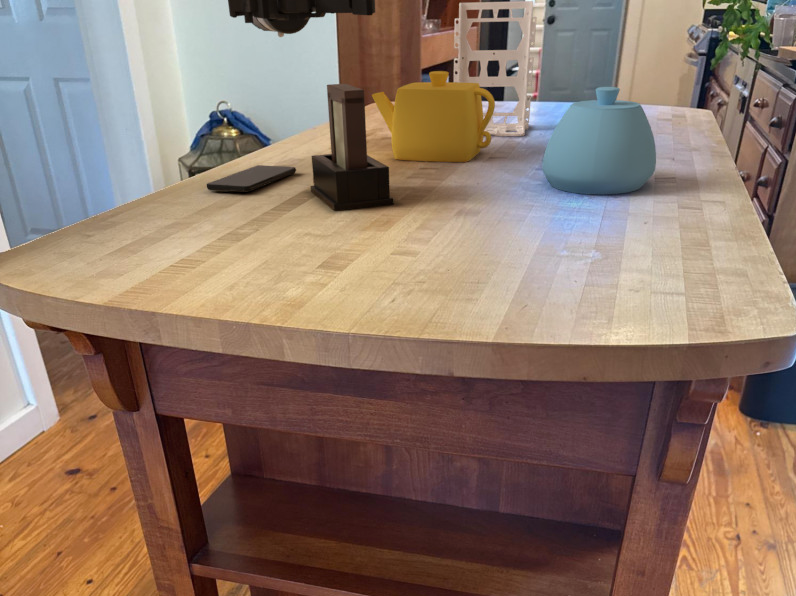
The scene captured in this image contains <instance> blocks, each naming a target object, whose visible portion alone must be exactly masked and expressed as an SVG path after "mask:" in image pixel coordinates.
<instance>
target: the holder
mask: <svg viewBox="0 0 796 596" xmlns="http://www.w3.org/2000/svg"><path fill="white" fill-rule="evenodd" d="M311 167H312V180H313V184H312V185H310V193H312V194H313V195H314V196H315V197H317V198H318V199H319V200H320V201H322V202H323V203H324V204H325V205H327V206H328V207H329V208H330V209H331V210H332V211H334V212H337V211H347V210H355V209H356V210H357V209H365V208H374V207H375V208H376V207H382V206H383V207H384V206H392V205H394V204H395V198H394V197H393V196H391V192H390V191H391V188H390V186H391V185H390V167H389V166H388V165H386V164H384V163H382V162H381V161H379V160H377V159H375V158H373V157H372V156H370V155H368V154H367V167H366V168H355V169H346V170H345V169H343V168H342V167H340V166H339V165H337V164H335V163H334V162H332V154H331V153H328V154H327V153H325V154H314V155H311Z"/></svg>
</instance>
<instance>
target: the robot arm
mask: <svg viewBox="0 0 796 596" xmlns="http://www.w3.org/2000/svg"><path fill="white" fill-rule="evenodd" d="M227 3H228V12H229V17H231V18H235V19H236V18H237V17H243V18H244V23H245V24H251V25H252V26H254V27H256V28H257V29H258V30H262V31H263V32H274V33H275V32H276V33H277V36H278V37H279V38H282V37H284V36H285V35H293V34H296V33H298V32H300V31H302V30H303V29H305V27H306V26H307V25H308V23H309V21H310V19H311V18H315V19H317V18H324V17H326V15H327V14H352V15H354V16H373V14H375V13H376V0H227Z"/></svg>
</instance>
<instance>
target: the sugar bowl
mask: <svg viewBox="0 0 796 596" xmlns="http://www.w3.org/2000/svg"><path fill="white" fill-rule="evenodd" d="M620 90H621V89H620V88H619V87H617V86H599V87H597V88H595V95H596V99H591V100H580V101H576V102H572V104H570V106H569V107H568V108H567V110H566V111H565V112H564V114H563V115H562V116H561V118H560V120H559V122H558V123H557V125H556V126H555V128H554V130H553V131H552V133H551V136H550V138H549V140H548V142H547V145H546V148H545V151H544V155H543V159H542V165H541V170H542V173H543V174H544V176H545V178H546V180H547V181H548V182H549V184H550V185H551V187H552V188H554V189H556V190H560V191H563V192H567V193H573V194H580V195H581V194H582V195H583V194H584V195H598V196H599V195H600V196H601V195H620V194H626V193H632V192H635V191H639V189H641V188H642V187H643V186H645V184H646V183H647V182H648V181H649V180H650V179H651V178H652V176H653V175H654V173H655V171H656V165H657V149H656V142H655V137H654V133H653V129H652V127H651V124H650V122H649V119H648V117H647V113H646V112H645V111H644V108H643V106H642V105H641V104H640V103H639V102H636V101H630V100H620V99H617V97H618V96H619V93H620Z"/></svg>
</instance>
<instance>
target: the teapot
mask: <svg viewBox="0 0 796 596" xmlns="http://www.w3.org/2000/svg"><path fill="white" fill-rule="evenodd" d="M449 74H450V72H448V71H445V70H434V71H430V72H429V73H428V76H429V79H430V81H427V82H424V81H423V82H422V81H421V82H418V81H417V82H416V81H415V82H411V83H408V84H404V85H402V86H399V87H398V88H397V90H396V93H395V98H394V103H392V101H391V100H390V99H389V97H388V96H387V95H386V94H385V91H380V92H376V93H372V94H371V97H372V99H373V102H374V103H375V105H376V107H377V109H378V111H379V113H380V115H381V116H382V119H383V121H384V122H385V124H386V126H387V128H388V130H389V131H390V134H391V149H392V150H391V151H392V154H393V158H394V160H400V161H411V162H412V161H413V162H429V163H430V162H431V163H432V162H433V163H436V162H437V163H466V162H470V161H471V160H473V159H474V158H475V157H476V156H477V155H479V153H480V152H481V150H482V149H486V148H488V147H489V146H490V144H491V142H492V135H490V133H489V132H487V131H484V130H485V128H486V127H487V125H488V123H489V121H490V119H491V117H493V116H492V115H493V113H495V107H496V102H495V98H494V96H493V94H492V93H491V92H490V91H489V90H487V89H485V88H484V87H480V85H479V83H457V82H454V81H453V82H450V81H449V82H448V78H449ZM482 97H483V98H485V99H486V100H487V105H488V106H487V110H486V112H485V113H486V115H485V116H483V113H484V109H483V108H484V107H483V99H482ZM484 137H485V139H486V140H485V141H484Z"/></svg>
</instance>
